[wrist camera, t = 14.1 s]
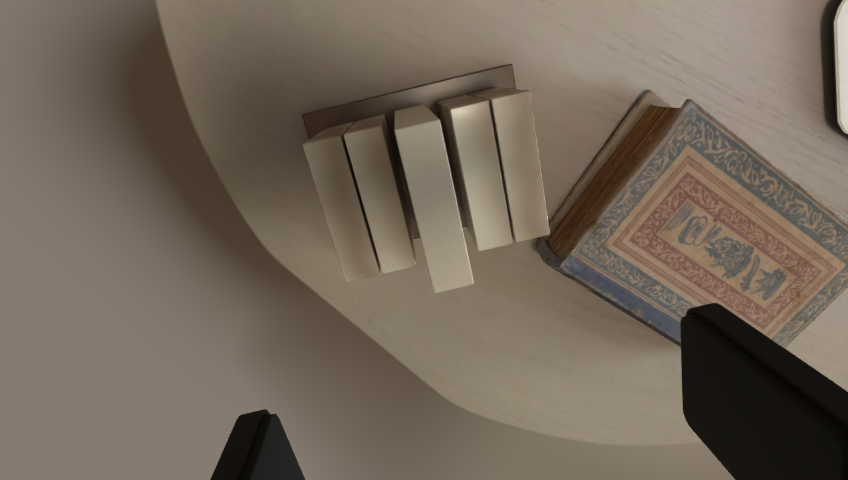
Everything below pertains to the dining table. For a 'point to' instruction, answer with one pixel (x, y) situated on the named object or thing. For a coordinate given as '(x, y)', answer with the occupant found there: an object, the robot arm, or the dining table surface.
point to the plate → (841, 64)
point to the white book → (433, 197)
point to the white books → (468, 159)
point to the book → (697, 228)
